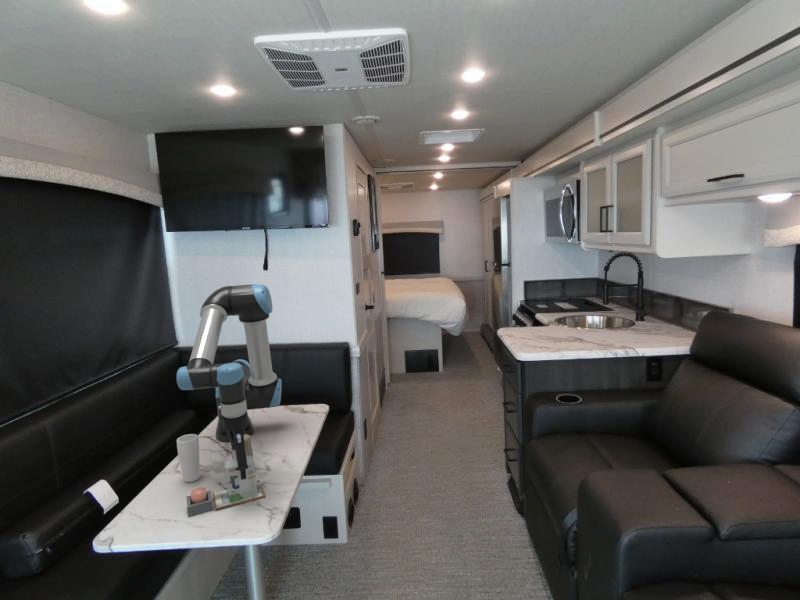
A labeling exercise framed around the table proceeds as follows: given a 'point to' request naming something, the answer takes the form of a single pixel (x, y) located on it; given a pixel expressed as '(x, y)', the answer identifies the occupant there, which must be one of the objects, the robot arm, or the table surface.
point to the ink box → (233, 480)
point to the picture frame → (223, 501)
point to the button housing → (199, 505)
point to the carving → (247, 446)
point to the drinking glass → (189, 457)
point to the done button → (198, 495)
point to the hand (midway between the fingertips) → (241, 477)
